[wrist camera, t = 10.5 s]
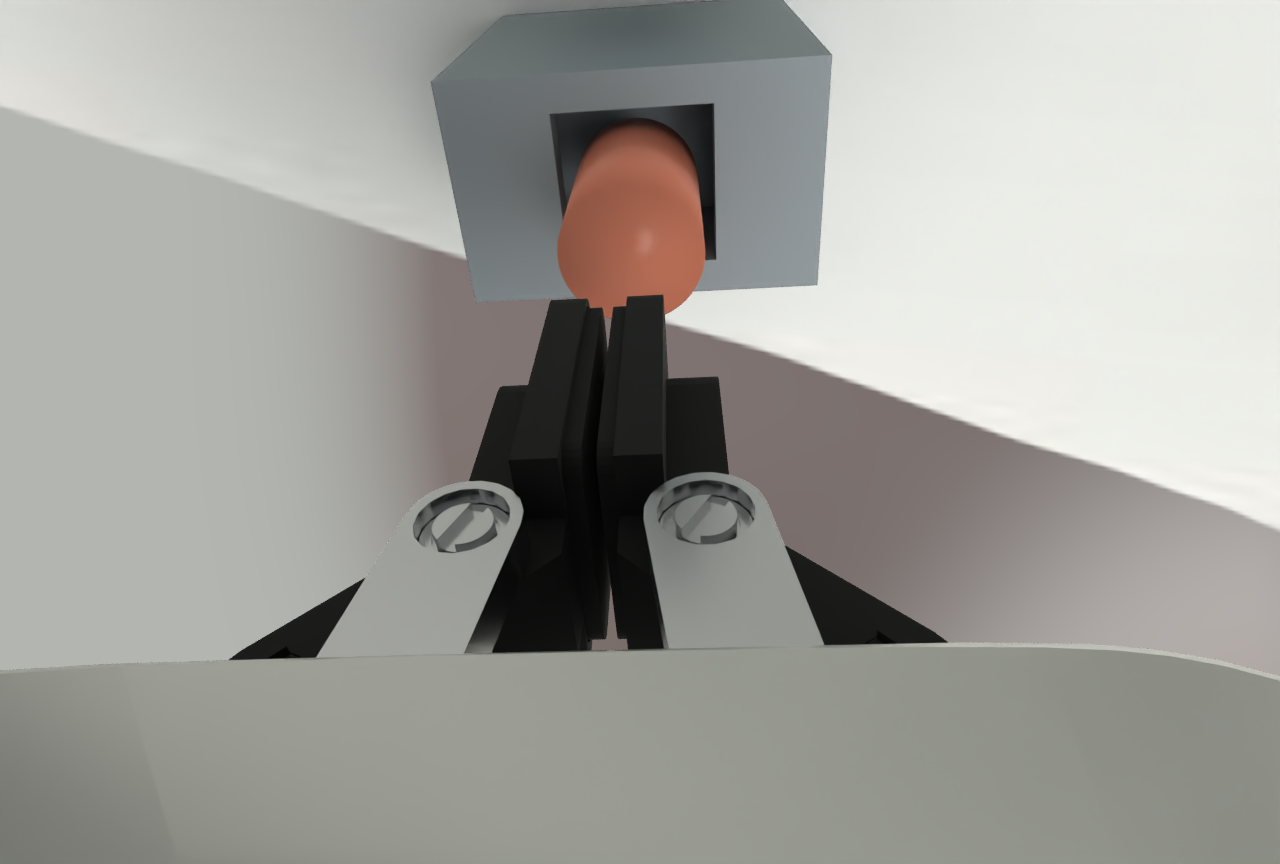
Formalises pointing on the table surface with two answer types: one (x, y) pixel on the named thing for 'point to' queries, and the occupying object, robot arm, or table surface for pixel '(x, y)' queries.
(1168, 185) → the table surface
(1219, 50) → the table surface
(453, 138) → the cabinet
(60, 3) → the table surface
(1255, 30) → the table surface
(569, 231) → the plunger
